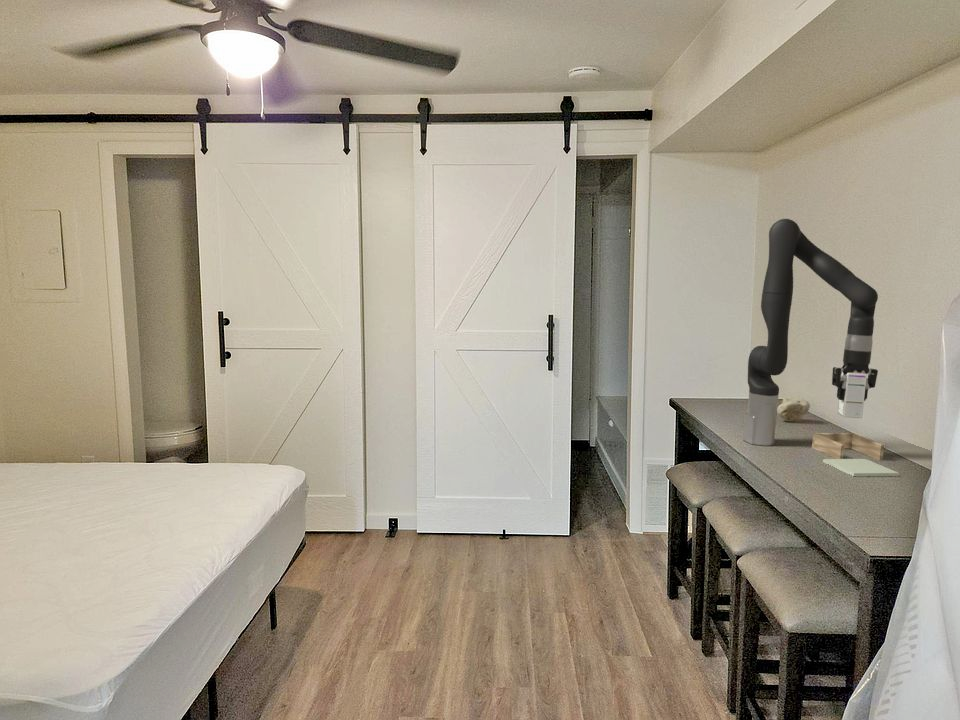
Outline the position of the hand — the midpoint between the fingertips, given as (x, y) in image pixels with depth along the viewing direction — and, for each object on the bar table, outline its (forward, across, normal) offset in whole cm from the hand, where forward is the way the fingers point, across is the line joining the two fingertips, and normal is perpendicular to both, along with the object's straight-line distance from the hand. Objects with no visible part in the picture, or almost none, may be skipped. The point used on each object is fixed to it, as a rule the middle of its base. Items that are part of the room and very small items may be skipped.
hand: (851, 399), depth 206 cm
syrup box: (+6, 0, 0) cm, 6 cm away
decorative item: (+18, +8, +44) cm, 49 cm away
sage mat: (+18, -6, -16) cm, 25 cm away
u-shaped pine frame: (+18, +1, 0) cm, 18 cm away
